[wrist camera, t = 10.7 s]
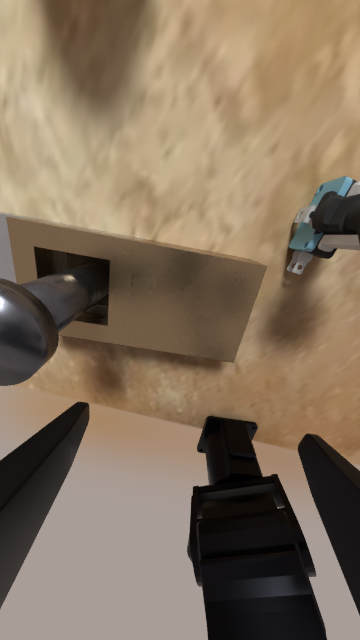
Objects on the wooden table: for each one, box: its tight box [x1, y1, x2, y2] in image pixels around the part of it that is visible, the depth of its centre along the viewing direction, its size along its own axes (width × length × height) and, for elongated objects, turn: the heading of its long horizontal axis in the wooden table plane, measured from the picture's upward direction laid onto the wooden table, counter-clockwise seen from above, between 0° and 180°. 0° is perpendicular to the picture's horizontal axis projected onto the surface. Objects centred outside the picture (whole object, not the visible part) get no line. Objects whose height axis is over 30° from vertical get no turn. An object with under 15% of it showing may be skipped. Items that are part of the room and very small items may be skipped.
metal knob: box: [0, 262, 110, 386], centre depth 13 cm, size 4×4×11 cm
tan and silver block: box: [0, 212, 267, 363], centre depth 16 cm, size 8×26×4 cm, turn 80°
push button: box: [287, 176, 360, 275], centre depth 11 cm, size 7×5×10 cm
